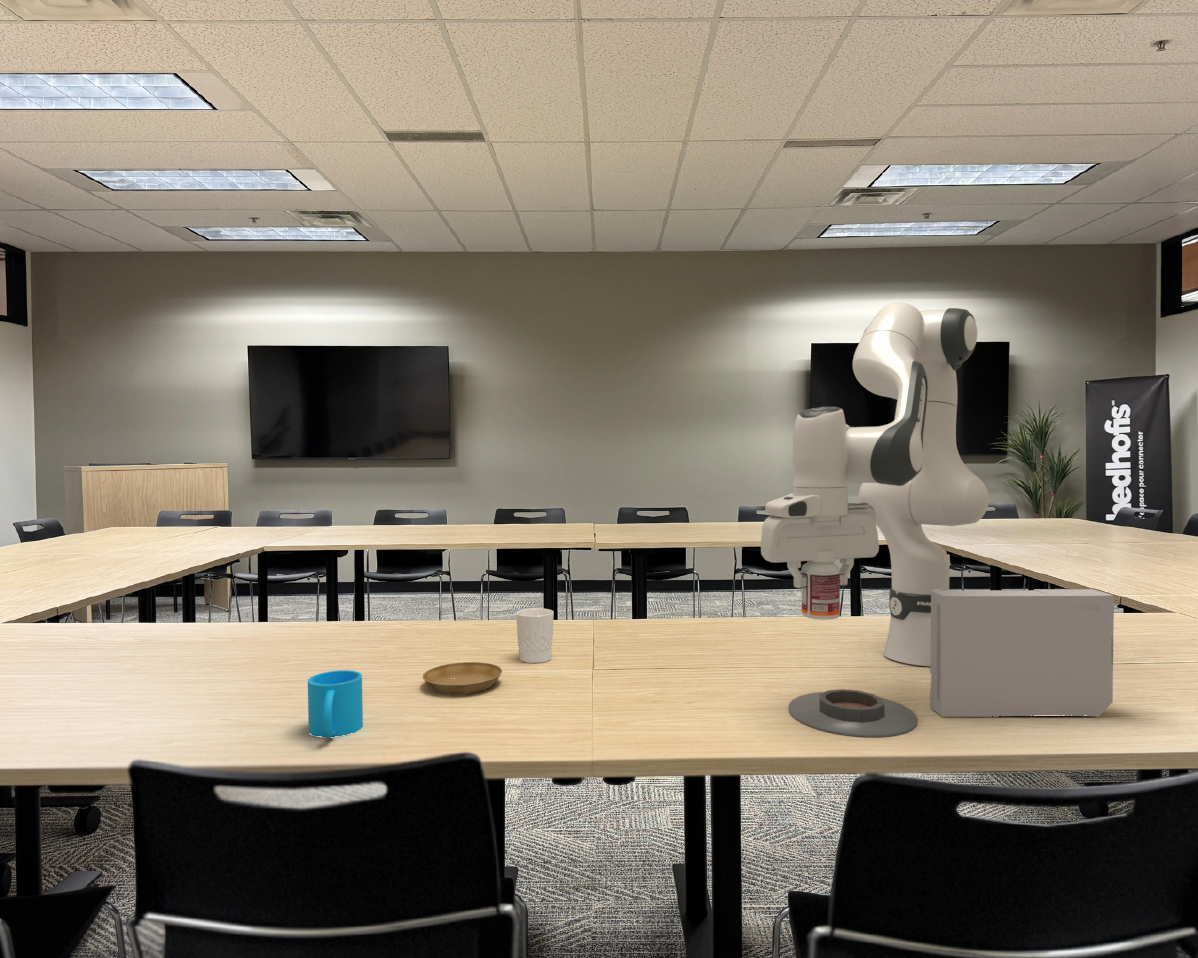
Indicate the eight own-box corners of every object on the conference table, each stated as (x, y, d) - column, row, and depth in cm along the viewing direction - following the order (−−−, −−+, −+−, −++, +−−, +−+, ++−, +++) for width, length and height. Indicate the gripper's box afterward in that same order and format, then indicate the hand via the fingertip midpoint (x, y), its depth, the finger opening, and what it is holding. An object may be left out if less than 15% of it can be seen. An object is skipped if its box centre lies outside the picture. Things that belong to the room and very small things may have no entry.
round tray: (868, 690, 133) (868, 676, 133) (945, 729, 114) (945, 713, 114) (767, 700, 128) (767, 685, 128) (830, 743, 109) (830, 726, 109)
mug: (314, 721, 120) (313, 671, 120) (366, 717, 122) (365, 668, 121) (298, 750, 108) (296, 695, 108) (355, 745, 110) (354, 691, 110)
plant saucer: (406, 694, 134) (406, 680, 134) (449, 671, 148) (448, 658, 148) (478, 702, 129) (478, 688, 129) (515, 678, 143) (515, 665, 143)
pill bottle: (847, 617, 123) (847, 550, 122) (822, 622, 119) (822, 552, 119) (818, 610, 128) (818, 546, 127) (793, 615, 125) (793, 548, 124)
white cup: (509, 662, 154) (509, 614, 153) (527, 652, 161) (527, 607, 161) (543, 665, 151) (543, 617, 150) (560, 656, 158) (559, 609, 158)
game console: (926, 705, 125) (926, 589, 125) (1089, 705, 124) (1090, 588, 124) (940, 717, 119) (941, 595, 119) (1112, 718, 118) (1114, 595, 118)
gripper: (864, 500, 128) (864, 579, 129) (756, 504, 124) (757, 586, 124) (886, 503, 122) (886, 585, 123) (773, 507, 118) (774, 593, 118)
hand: (820, 586), depth 123 cm, fingers closed on pill bottle, 6 cm apart
